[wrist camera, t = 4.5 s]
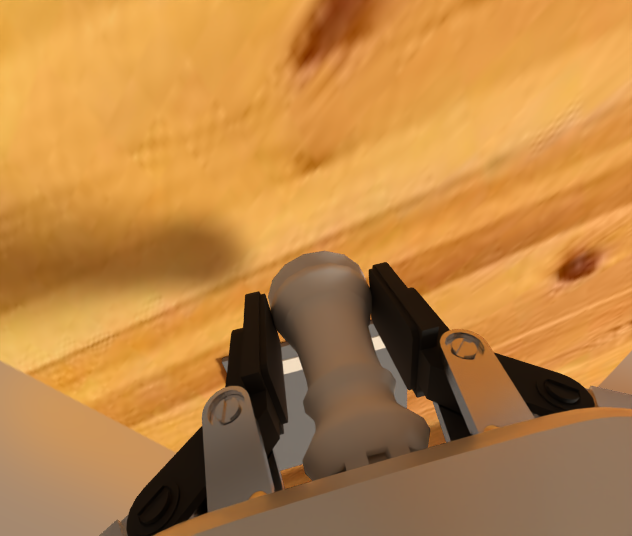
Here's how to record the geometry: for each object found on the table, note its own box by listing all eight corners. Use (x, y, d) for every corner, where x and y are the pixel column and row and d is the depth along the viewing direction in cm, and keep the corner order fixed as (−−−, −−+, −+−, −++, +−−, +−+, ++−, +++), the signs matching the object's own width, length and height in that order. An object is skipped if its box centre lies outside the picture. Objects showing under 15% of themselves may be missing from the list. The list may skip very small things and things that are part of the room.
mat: (222, 357, 20) (221, 363, 20) (405, 311, 21) (408, 315, 21) (273, 468, 28) (274, 473, 27) (404, 430, 29) (406, 434, 29)
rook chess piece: (287, 337, 14) (315, 557, 7) (251, 266, 12) (242, 496, 5) (370, 307, 14) (476, 500, 7) (352, 231, 12) (483, 412, 5)
